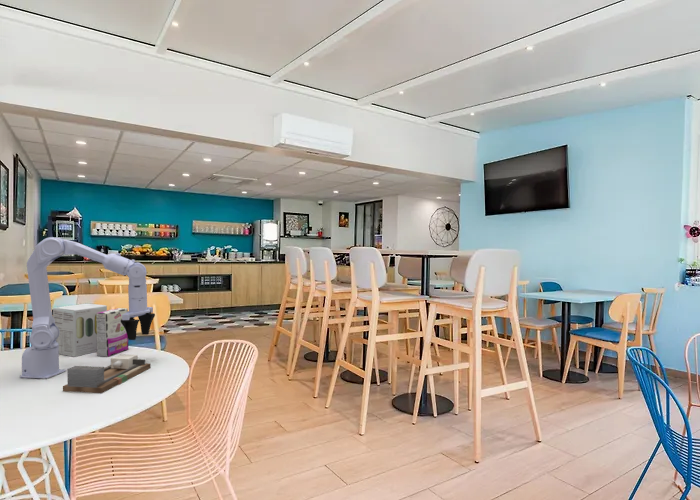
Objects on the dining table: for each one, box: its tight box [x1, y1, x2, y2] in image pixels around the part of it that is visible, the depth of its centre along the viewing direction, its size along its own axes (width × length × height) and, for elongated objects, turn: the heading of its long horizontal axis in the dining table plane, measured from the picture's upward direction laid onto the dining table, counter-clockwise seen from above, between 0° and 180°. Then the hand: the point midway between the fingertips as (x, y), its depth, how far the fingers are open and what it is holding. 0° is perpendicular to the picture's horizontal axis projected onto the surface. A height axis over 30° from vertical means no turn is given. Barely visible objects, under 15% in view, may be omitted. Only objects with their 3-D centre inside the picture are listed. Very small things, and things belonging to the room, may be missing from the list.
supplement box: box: [52, 302, 108, 358], centre depth 165 cm, size 13×13×18 cm
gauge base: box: [62, 362, 152, 394], centre depth 133 cm, size 12×24×2 cm, turn 174°
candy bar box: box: [96, 307, 129, 358], centre depth 163 cm, size 11×5×16 cm, turn 168°
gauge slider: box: [110, 353, 146, 369], centre depth 139 cm, size 10×7×3 cm
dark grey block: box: [66, 365, 105, 388], centre depth 122 cm, size 9×3×5 cm, turn 84°
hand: (138, 337), depth 147 cm, fingers open, 7 cm apart
